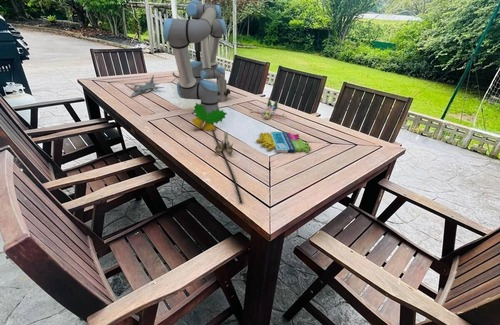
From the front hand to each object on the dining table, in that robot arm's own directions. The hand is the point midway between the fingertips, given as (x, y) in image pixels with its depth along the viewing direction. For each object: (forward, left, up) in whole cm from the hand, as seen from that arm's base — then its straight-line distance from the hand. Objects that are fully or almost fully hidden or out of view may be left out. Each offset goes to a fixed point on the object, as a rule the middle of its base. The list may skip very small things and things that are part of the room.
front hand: (198, 60), depth 196 cm
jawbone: (-89, -4, -32) cm, 95 cm away
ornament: (-57, 0, -32) cm, 65 cm away
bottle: (+3, -19, -32) cm, 37 cm away
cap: (0, 0, +2) cm, 2 cm away
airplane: (+34, +43, -32) cm, 64 cm away
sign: (-84, -39, -32) cm, 98 cm away
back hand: (-2, -18, -25) cm, 31 cm away
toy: (-33, -49, -32) cm, 67 cm away
